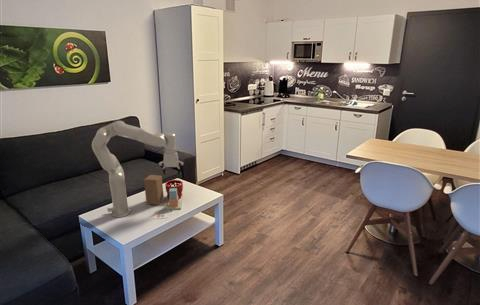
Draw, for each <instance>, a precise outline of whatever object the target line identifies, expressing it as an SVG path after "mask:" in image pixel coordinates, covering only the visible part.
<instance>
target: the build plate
mask: <svg viewBox="0 0 480 305" xmlns="http://www.w3.org/2000/svg"><path fill="white" fill-rule="evenodd" d="M182 204H183V202H182V201H179V204H178V207H170V205H169V201H168V202H167V205H166V210H167V211H171V210H172V211H173V210H174V211H175V210H182Z"/></svg>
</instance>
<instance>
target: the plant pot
mask: <svg viewBox="0 0 480 305" xmlns="http://www.w3.org/2000/svg"><path fill="white" fill-rule="evenodd" d="M164 185H165V192H166V197H167V198H168V199H169V198H170V196H169V190H170V189H171V188H177V196H178V199H181V198H182V196H183V189H184V183H183V181H182V180H179V179H171V180H168V181H166V182H165V184H164Z"/></svg>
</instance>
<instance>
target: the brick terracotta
mask: <svg viewBox="0 0 480 305" xmlns="http://www.w3.org/2000/svg"><path fill="white" fill-rule="evenodd" d="M179 199H180V198H178V196H177V199H170V198H168V202H169V205H170V207H178V204H179V202H180V200H179Z"/></svg>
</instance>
